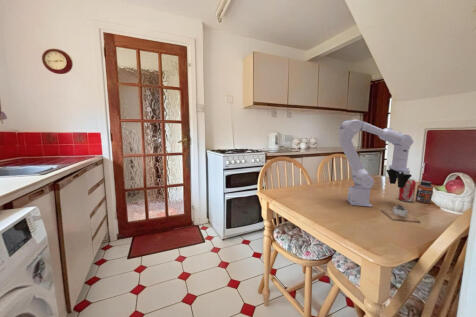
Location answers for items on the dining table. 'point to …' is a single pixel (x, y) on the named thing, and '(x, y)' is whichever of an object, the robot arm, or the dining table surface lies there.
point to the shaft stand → (393, 217)
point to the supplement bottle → (424, 192)
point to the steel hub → (399, 212)
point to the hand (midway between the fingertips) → (396, 185)
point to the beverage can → (407, 191)
